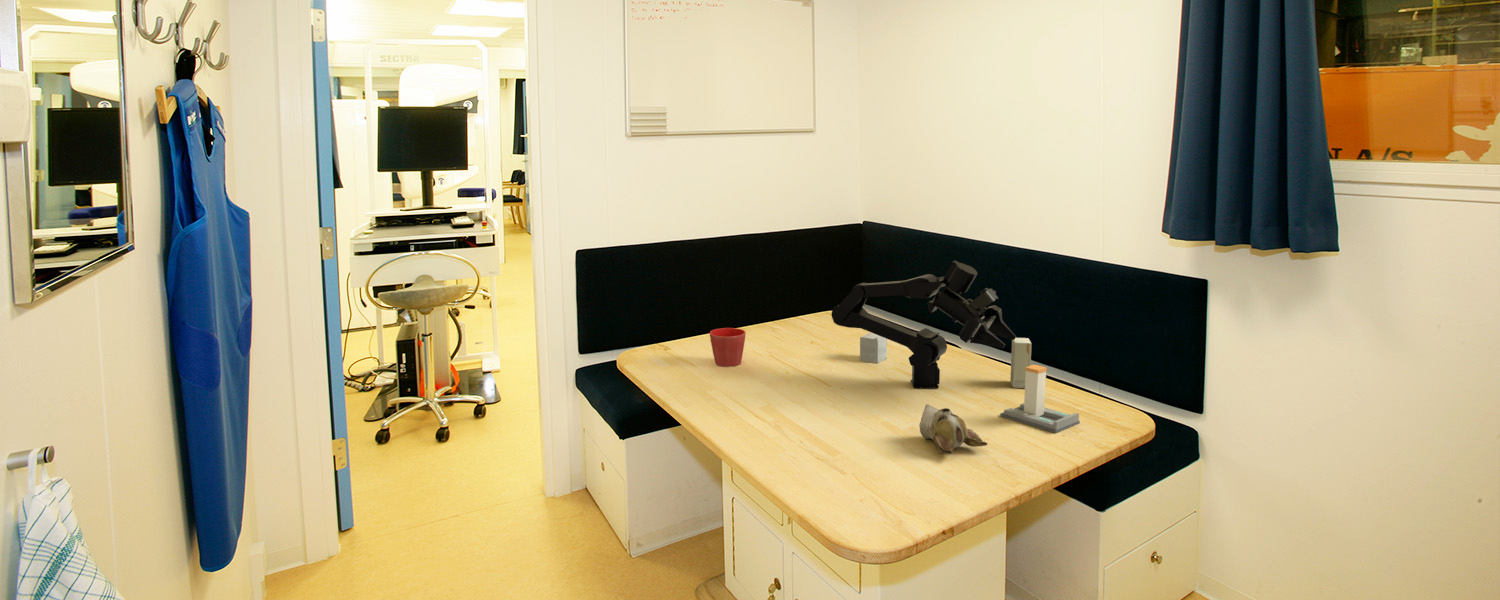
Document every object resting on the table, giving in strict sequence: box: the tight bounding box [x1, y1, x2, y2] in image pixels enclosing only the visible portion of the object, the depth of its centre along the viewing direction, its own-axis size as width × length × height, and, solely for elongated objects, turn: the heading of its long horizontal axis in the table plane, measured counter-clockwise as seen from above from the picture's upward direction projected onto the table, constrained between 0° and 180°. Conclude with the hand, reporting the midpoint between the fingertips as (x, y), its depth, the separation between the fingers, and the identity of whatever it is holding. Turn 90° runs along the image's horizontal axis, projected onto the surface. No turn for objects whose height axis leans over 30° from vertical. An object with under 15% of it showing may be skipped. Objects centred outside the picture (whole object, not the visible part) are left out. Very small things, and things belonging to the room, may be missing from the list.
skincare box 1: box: [859, 332, 888, 364], centre depth 238 cm, size 6×6×7 cm
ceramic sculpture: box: [919, 403, 988, 455], centre depth 172 cm, size 11×9×15 cm
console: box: [999, 402, 1081, 434], centre depth 187 cm, size 15×10×2 cm, turn 37°
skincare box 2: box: [1010, 337, 1032, 389], centre depth 211 cm, size 6×4×12 cm
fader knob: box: [1023, 364, 1048, 416], centre depth 187 cm, size 3×3×11 cm
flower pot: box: [709, 327, 747, 368], centre depth 237 cm, size 11×11×10 cm
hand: (1009, 342), depth 199 cm, fingers open, 9 cm apart
